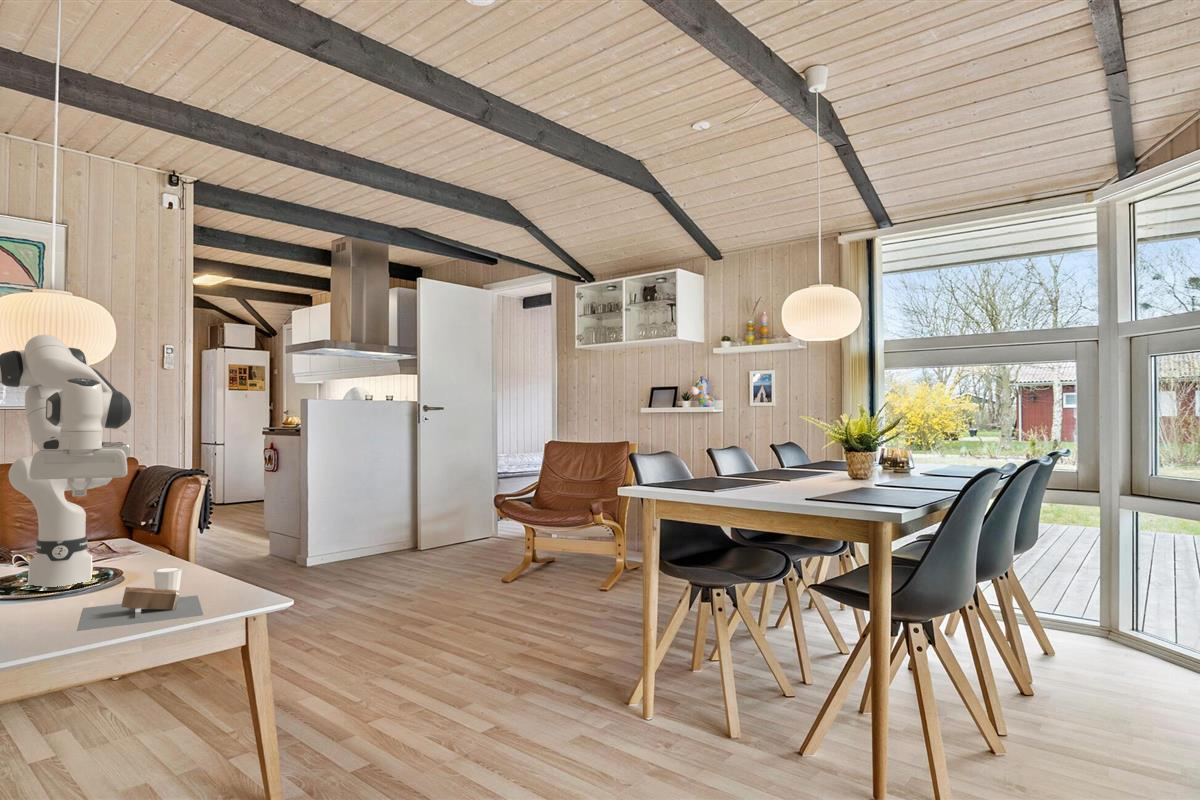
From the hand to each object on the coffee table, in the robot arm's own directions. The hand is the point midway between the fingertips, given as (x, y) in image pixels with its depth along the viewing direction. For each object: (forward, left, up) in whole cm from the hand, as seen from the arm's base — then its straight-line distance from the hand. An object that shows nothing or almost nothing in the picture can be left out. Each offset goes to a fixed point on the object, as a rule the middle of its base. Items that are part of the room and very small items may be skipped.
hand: (79, 496), depth 181 cm
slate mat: (+7, +14, -30) cm, 34 cm away
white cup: (-12, +20, -31) cm, 39 cm away
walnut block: (+7, +10, -25) cm, 28 cm away
